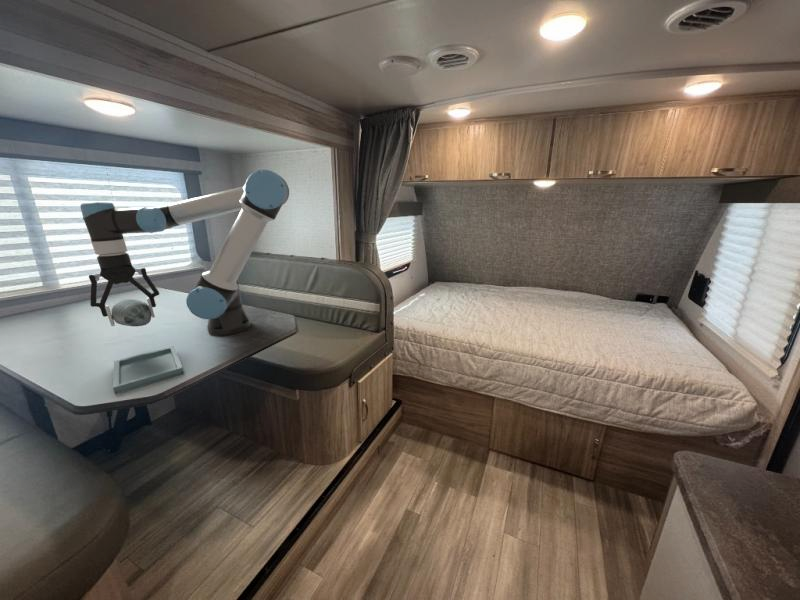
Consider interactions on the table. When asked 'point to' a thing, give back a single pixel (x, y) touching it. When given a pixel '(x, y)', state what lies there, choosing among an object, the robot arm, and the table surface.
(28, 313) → the table surface
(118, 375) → the tray
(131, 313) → the streaked grey egg
